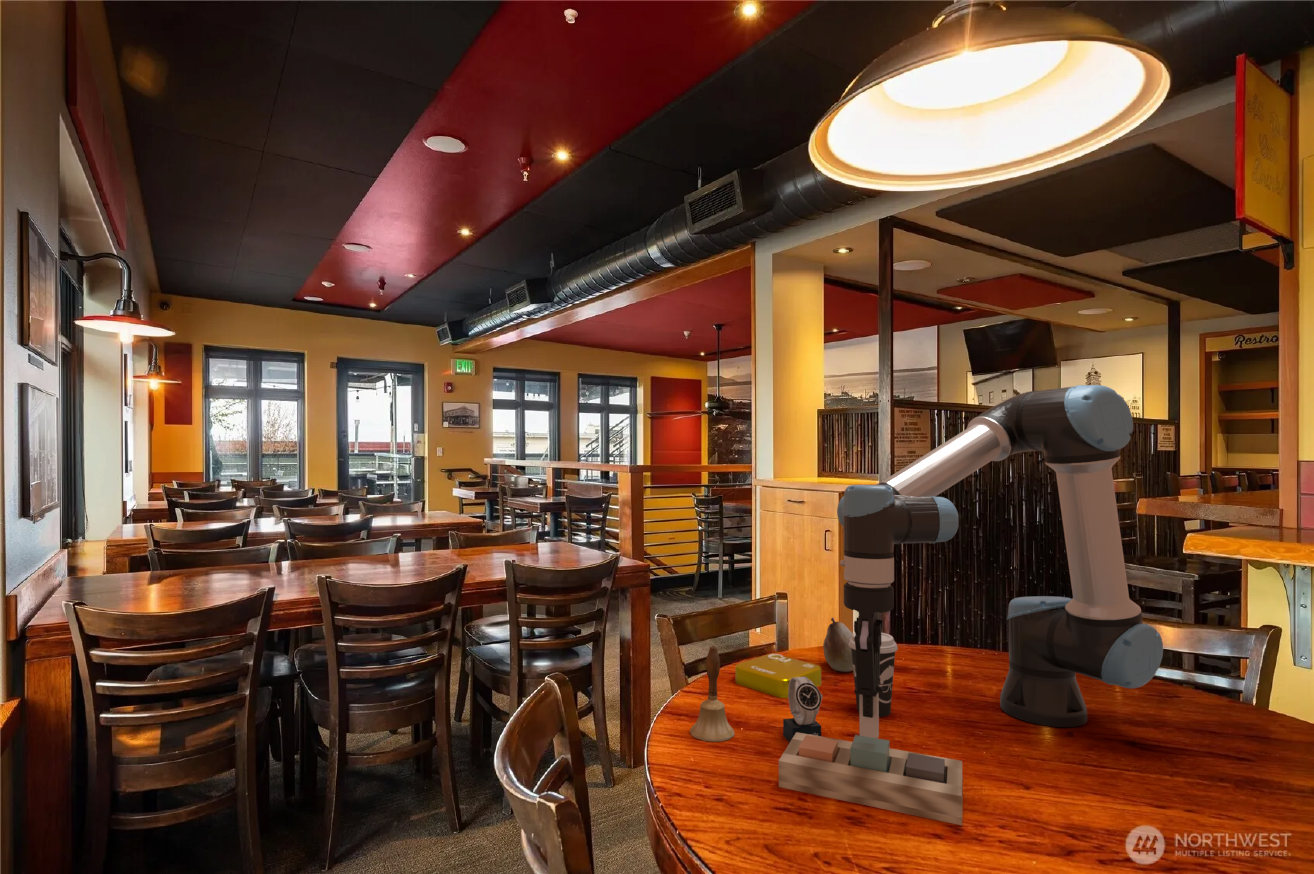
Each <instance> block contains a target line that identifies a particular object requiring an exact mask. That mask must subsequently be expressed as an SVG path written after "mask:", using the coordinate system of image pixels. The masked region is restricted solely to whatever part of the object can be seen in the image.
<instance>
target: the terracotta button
mask: <svg viewBox="0 0 1314 874" xmlns="http://www.w3.org/2000/svg"><path fill="white" fill-rule="evenodd" d="M837 755H838V741H837V740H831V739H826V738H820V737H814V736H808V735H806V736H805V737H804V739H803V741H802V743H801V744H800V746H799V756H801V757H807V758H812V759H817V760H823V761H828V762H833V763H834V762H835V760H836V758H837Z"/></svg>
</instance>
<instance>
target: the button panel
mask: <svg viewBox="0 0 1314 874" xmlns="http://www.w3.org/2000/svg"><path fill="white" fill-rule="evenodd" d="M806 735H808V736H814V737H820V738H826V739H831V740H837V741H838V755H837V758H836V760H835V762H834V763H833V762H828V761H823V760H817V759H812V758H807V757H801V756H799V746H800V744H801V743H802V741H803V739H804V737H805V736H806ZM852 742H853V741H851V740H849V741H848V740H843V739H839V738H833V737H826V736H822V735H821V736H815V735H810V734H804V733H798V732H796V734H795V735H794V737H793V738H792V740H791V742H790V743H789V742H788V745H787V747H786V748H785V750H784V752H783V753H782V754H781V756H780V758H779V759H778V787H779V788H782V789H786V790H792V791H795V792H796V791H797V792H801V793H805V794H811V795H816V796H821V797H825V798H829V799H835V800H840V801H843V802H844V801H845V802H848V803H853V804H859V805H864V806H868V807H873V808H877V809H883V810H888V811H892V812H896V813H901V814H905V815H910V816H916V817H920V818H925V819H929V820H934V821H940V822H944V823H949V824H954V825H959V826H963V796H964V794H963V793H964V792H963V788H964V787H963V786H964V785H963V782H964V781H963V760H959V759H954V758H948V757H942V756H935V755H930V754H924V753H918V752H912V751H906V750H901V749H895V748H890V767H889V771H888V773H886V772H881V771H876V770H870V769H865V768H860V767H854V766H851V754H850V747H851V745H852ZM908 753H912V754H918V755H924V756H929V757H935V758H941V759H945V783H940V782H934V781H929V780H924V779H918V778H913V777H908V776H906V763H907V758H908Z"/></svg>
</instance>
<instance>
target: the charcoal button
mask: <svg viewBox="0 0 1314 874" xmlns="http://www.w3.org/2000/svg"><path fill="white" fill-rule="evenodd" d="M906 776H908V777H913V778H918V779H924V780H929V781H934V782H940V783H945V759H941V758H935V757H929V756H924V755H918V754H912V753H908V758H907V763H906Z"/></svg>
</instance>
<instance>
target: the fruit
mask: <svg viewBox="0 0 1314 874" xmlns="http://www.w3.org/2000/svg"><path fill="white" fill-rule="evenodd" d="M830 620H831V622H832V623H830V624H829V625H828V626H827V631H826V635H825V637H824V640H823V644H822V645H823V646H822V647H823V648H822V649H823V656H824V660H825V661H826V662H827V664H828V665H829V667H831V669H833V670H834V671H836V672H843V673H849V672H853V662H852V652H851V647H849V641H850V639H851V638H852V635H853V634H854V632H852V631H851V630H850V628H848V626H846V625H845V624H844V623H843V622H842V621H836V620H835V618H834V617H831V619H830Z"/></svg>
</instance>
